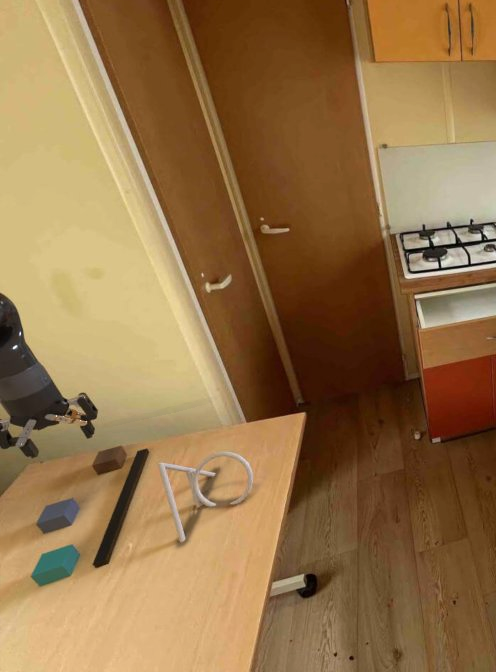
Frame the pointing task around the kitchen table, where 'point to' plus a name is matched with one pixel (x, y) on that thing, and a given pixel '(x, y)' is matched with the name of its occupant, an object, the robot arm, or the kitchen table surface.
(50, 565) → the teal block
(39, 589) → the kitchen table surface
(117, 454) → the walnut block
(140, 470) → the straightedge
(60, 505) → the slate block
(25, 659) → the kitchen table surface
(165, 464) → the wire frame
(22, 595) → the kitchen table surface
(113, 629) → the kitchen table surface
